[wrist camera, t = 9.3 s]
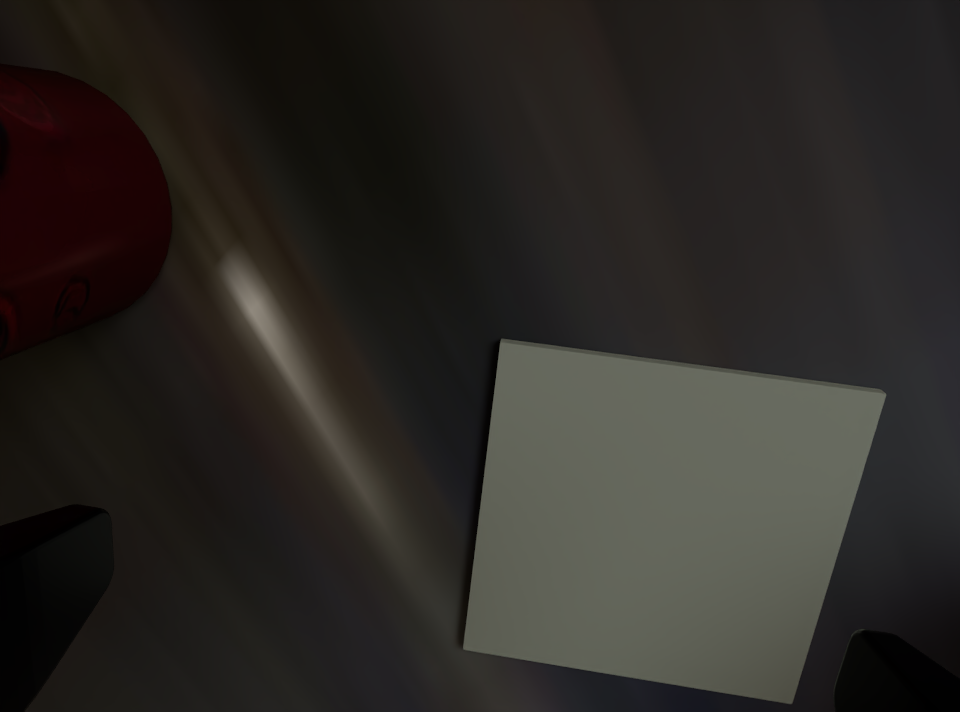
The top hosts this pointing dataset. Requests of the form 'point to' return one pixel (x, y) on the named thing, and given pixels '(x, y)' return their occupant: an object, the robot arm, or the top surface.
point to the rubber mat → (662, 516)
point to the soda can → (73, 208)
